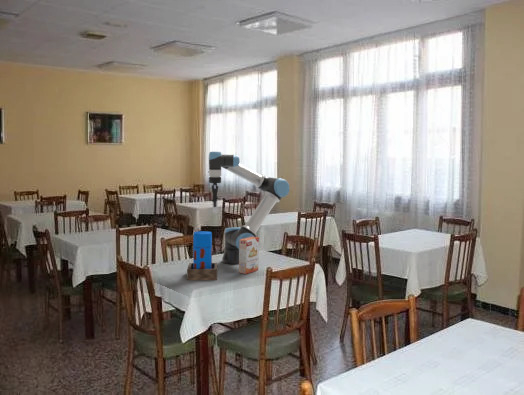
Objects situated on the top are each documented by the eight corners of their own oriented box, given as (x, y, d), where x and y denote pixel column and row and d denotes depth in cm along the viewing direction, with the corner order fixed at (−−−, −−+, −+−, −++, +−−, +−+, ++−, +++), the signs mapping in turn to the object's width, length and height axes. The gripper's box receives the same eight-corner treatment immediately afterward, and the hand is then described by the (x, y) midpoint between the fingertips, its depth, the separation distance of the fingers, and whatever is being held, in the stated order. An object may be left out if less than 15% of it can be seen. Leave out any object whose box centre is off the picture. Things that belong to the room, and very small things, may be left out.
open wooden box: (217, 272, 313) (217, 262, 312) (216, 279, 296) (216, 269, 296) (189, 272, 312) (189, 263, 311) (187, 279, 295) (187, 269, 294)
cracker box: (246, 274, 308) (246, 240, 306) (238, 273, 312) (238, 239, 310) (259, 270, 320) (259, 237, 318) (251, 268, 323) (251, 236, 321)
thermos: (211, 276, 299) (211, 234, 296) (193, 276, 298) (192, 234, 296) (211, 272, 310) (212, 231, 307) (194, 272, 309) (194, 231, 306)
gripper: (209, 175, 329) (209, 208, 331) (208, 177, 304) (208, 213, 306) (221, 175, 329) (221, 208, 331) (221, 177, 305) (221, 213, 307)
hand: (215, 210), depth 319 cm, fingers open, 13 cm apart
